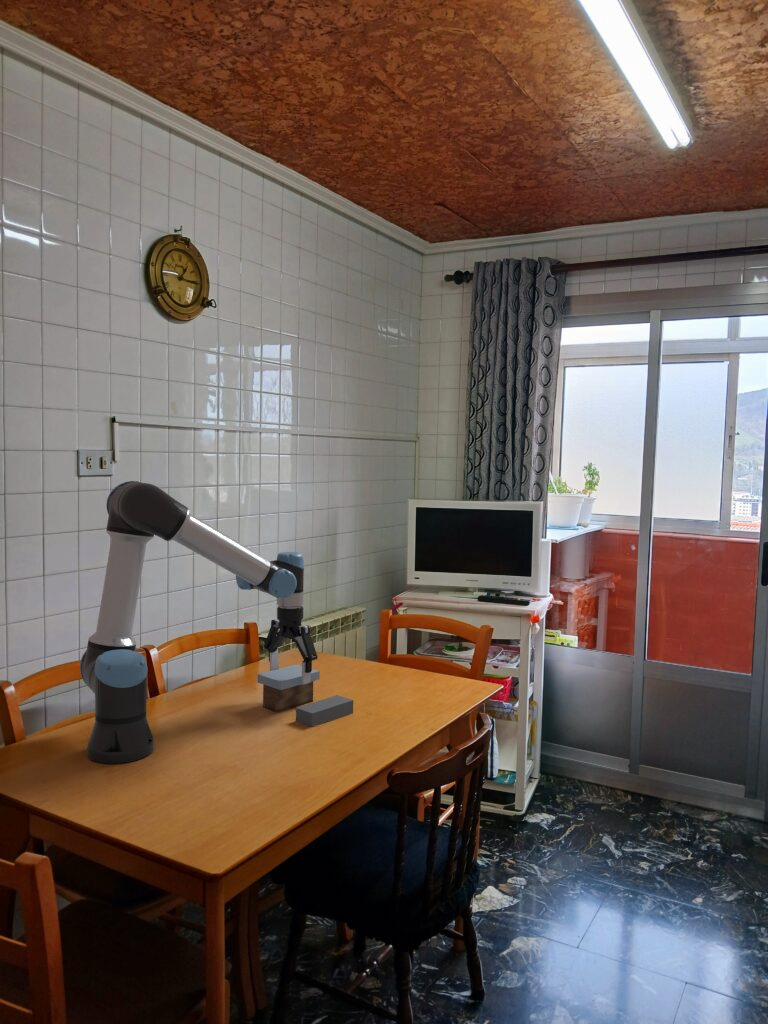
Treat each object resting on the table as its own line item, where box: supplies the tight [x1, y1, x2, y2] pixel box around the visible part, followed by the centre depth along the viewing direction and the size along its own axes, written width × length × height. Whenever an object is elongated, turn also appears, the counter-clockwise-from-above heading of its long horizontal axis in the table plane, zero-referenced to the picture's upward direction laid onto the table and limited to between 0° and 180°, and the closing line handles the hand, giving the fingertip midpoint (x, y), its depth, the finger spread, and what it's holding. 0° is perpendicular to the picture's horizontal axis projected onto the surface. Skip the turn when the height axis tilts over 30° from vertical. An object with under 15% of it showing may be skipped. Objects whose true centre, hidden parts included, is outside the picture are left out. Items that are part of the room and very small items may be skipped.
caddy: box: [262, 681, 314, 713], centre depth 220 cm, size 14×6×7 cm, turn 139°
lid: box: [256, 664, 321, 690], centre depth 220 cm, size 15×10×2 cm, turn 139°
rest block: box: [295, 694, 354, 728], centre depth 210 cm, size 16×6×4 cm, turn 139°
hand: (289, 678), depth 220 cm, fingers open, 13 cm apart
